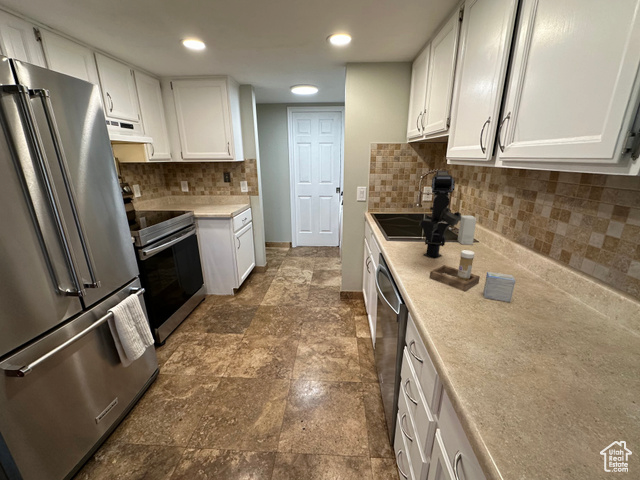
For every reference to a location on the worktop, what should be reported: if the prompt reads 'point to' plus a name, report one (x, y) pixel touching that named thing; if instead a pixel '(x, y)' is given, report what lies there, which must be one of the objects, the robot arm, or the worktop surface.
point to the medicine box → (499, 286)
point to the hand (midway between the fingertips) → (435, 240)
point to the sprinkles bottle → (465, 265)
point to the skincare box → (466, 230)
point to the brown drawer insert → (453, 278)
